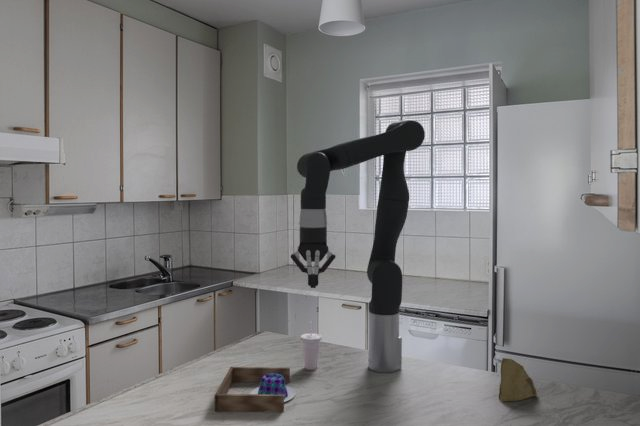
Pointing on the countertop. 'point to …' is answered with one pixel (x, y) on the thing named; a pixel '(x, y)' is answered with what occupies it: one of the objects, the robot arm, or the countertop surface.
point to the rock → (515, 382)
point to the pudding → (274, 386)
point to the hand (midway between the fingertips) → (313, 287)
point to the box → (249, 400)
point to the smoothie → (311, 348)
